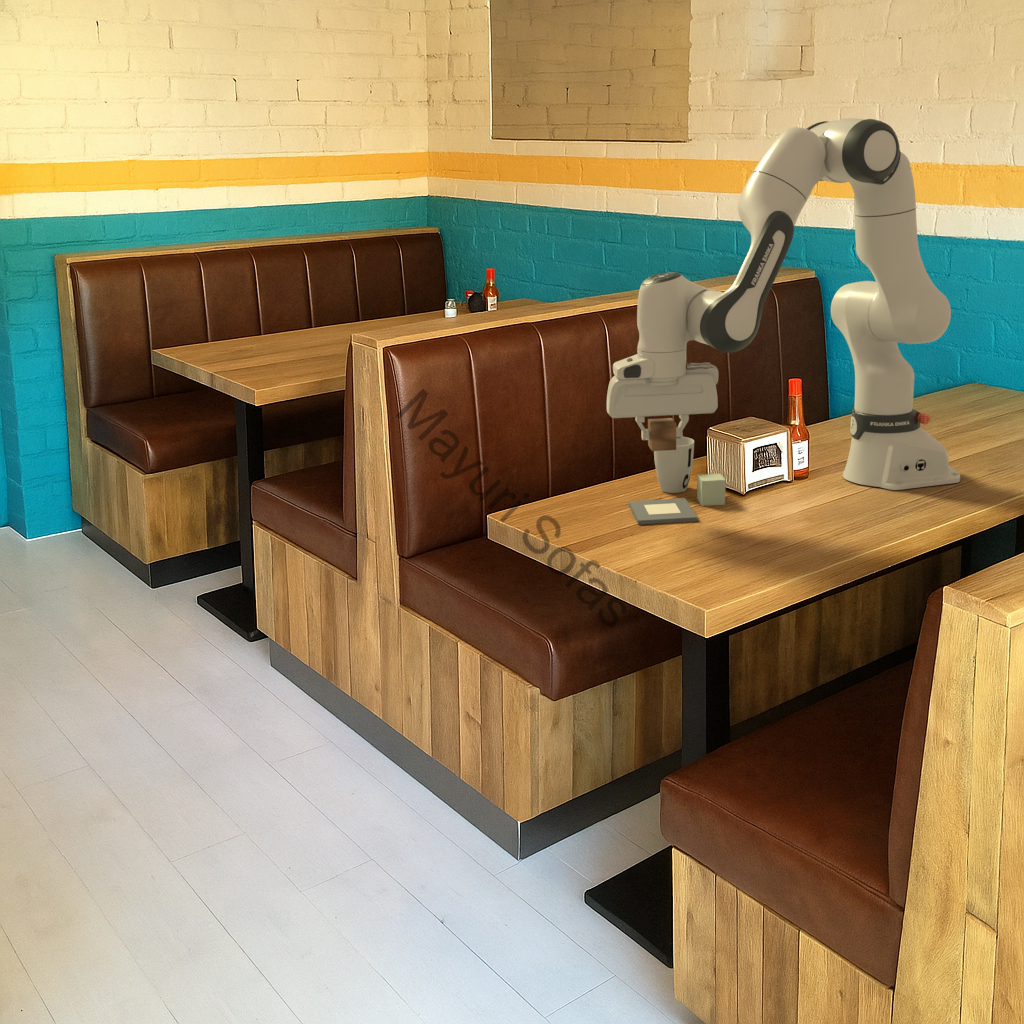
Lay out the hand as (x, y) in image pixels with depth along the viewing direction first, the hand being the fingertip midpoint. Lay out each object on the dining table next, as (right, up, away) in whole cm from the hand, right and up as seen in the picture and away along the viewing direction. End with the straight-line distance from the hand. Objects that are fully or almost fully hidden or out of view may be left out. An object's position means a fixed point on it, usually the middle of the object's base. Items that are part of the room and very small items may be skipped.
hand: (661, 438), depth 210 cm
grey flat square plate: (+1, -14, +4) cm, 14 cm away
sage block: (+11, -12, +10) cm, 19 cm away
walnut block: (0, -2, 0) cm, 2 cm away
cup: (+5, -9, +19) cm, 22 cm away
